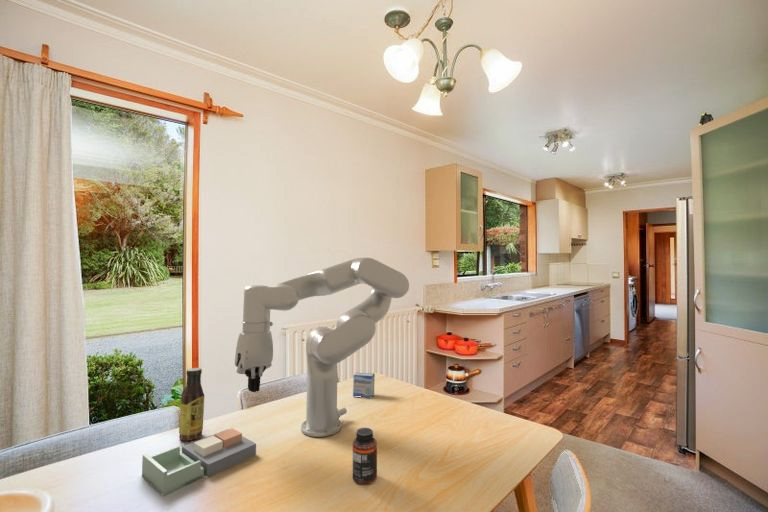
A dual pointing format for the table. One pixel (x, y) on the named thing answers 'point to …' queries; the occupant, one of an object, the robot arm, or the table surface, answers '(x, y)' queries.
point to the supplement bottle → (364, 457)
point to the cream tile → (208, 445)
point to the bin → (170, 470)
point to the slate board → (222, 455)
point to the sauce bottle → (192, 407)
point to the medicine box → (363, 384)
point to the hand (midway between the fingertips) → (253, 390)
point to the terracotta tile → (229, 437)
